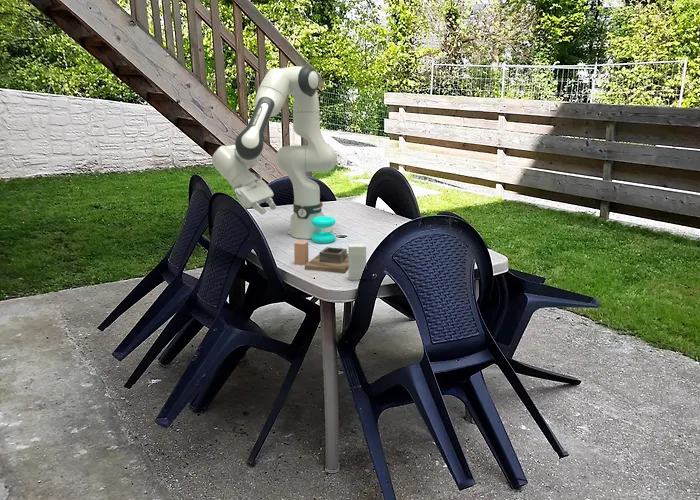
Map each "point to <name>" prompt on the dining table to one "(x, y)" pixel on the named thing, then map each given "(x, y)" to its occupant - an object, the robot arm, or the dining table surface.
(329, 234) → the donuts
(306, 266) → the sleeve stand
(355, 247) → the skincare box
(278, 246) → the dining table surface
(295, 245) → the terracotta peg
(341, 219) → the dining table surface
